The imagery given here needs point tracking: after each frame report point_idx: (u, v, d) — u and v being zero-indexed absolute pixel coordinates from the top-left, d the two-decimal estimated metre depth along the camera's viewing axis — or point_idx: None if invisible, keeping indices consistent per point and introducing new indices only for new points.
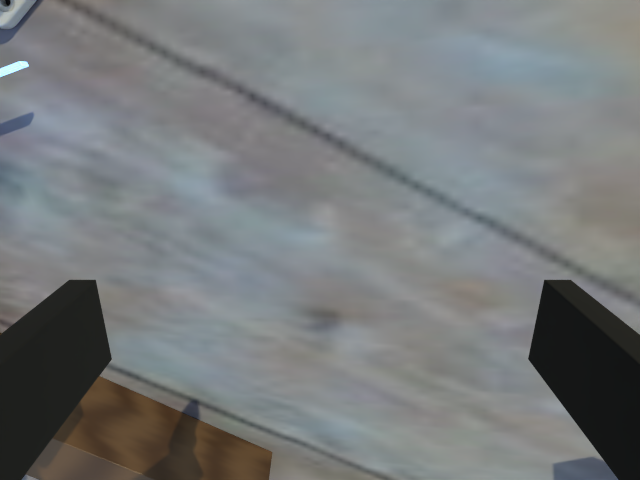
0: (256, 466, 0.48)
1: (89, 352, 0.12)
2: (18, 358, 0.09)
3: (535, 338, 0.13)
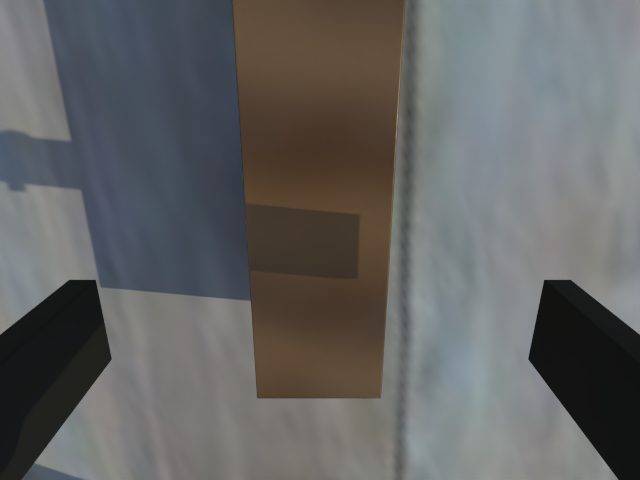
0: None
1: (89, 352, 0.12)
2: (18, 358, 0.09)
3: (535, 338, 0.13)
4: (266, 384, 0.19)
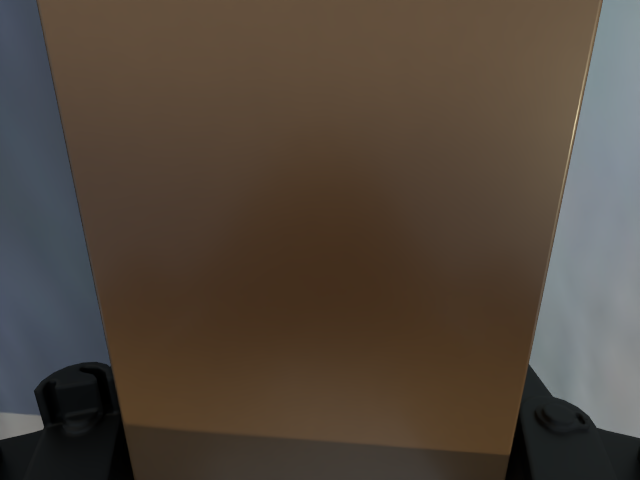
0: None
1: None
2: None
3: None
4: None
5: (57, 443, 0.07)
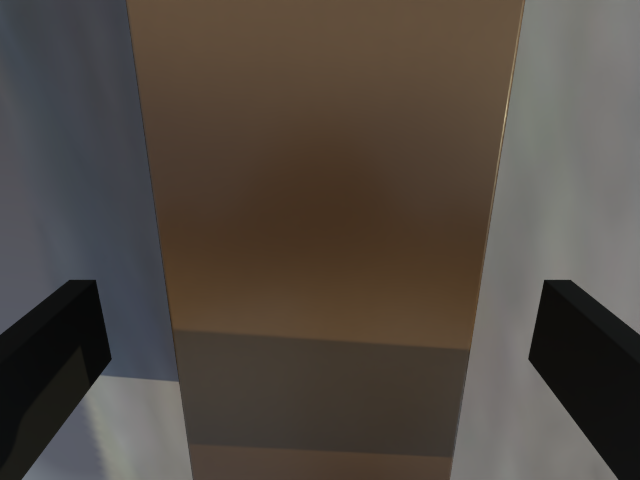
0: None
1: (89, 352, 0.12)
2: (18, 358, 0.09)
3: (535, 338, 0.13)
4: None
5: None
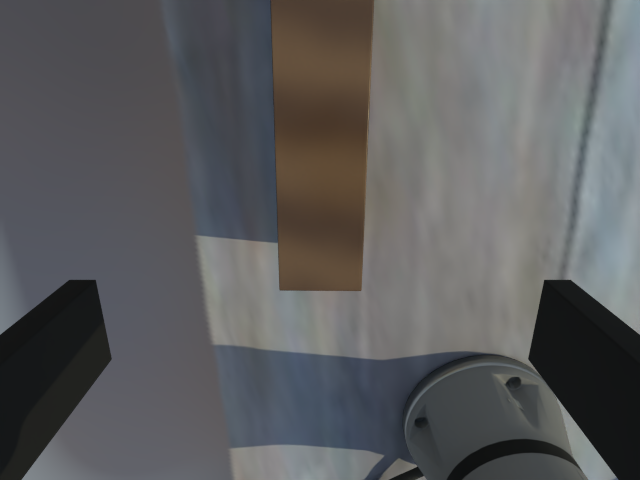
0: None
1: (89, 352, 0.12)
2: (18, 358, 0.09)
3: (535, 338, 0.13)
4: (285, 280, 0.29)
5: None
